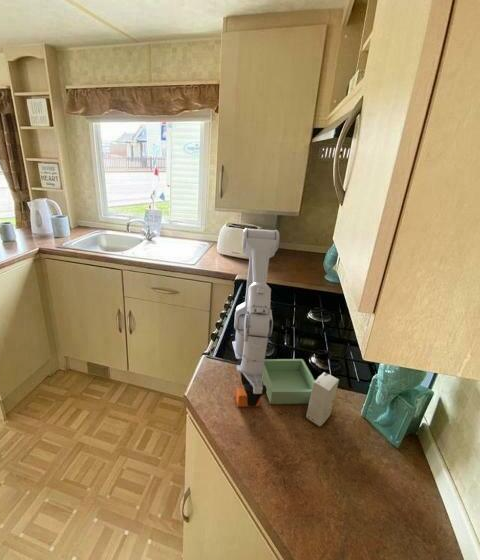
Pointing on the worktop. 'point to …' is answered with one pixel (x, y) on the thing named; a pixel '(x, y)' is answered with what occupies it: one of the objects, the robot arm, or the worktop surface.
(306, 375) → the tray
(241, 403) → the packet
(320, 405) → the cosmetic box
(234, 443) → the worktop surface
